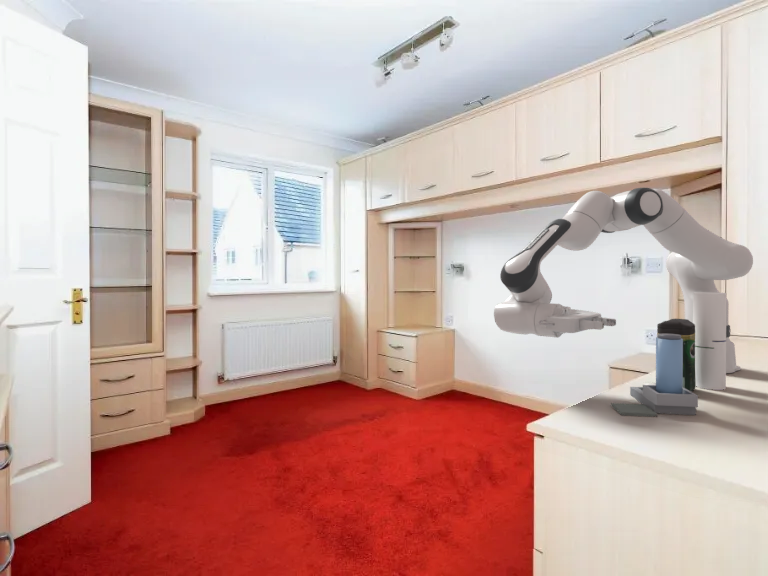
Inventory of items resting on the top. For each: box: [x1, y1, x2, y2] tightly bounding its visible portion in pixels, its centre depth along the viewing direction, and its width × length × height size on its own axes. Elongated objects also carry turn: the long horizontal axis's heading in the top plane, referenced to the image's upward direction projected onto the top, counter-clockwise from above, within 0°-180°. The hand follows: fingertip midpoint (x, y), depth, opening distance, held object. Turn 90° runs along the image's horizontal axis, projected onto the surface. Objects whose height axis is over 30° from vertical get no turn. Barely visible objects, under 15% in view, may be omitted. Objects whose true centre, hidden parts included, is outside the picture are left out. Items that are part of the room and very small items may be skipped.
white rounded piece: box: [642, 381, 656, 386], centre depth 106 cm, size 4×4×3 cm
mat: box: [610, 402, 658, 417], centre depth 97 cm, size 7×7×1 cm
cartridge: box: [655, 334, 683, 394], centre depth 97 cm, size 5×5×15 cm
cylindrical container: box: [693, 292, 727, 391], centre depth 116 cm, size 7×7×25 cm
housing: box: [629, 384, 699, 416], centre depth 101 cm, size 16×8×4 cm, turn 169°
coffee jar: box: [656, 318, 697, 392], centre depth 114 cm, size 10×8×19 cm
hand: (609, 324), depth 105 cm, fingers open, 8 cm apart
